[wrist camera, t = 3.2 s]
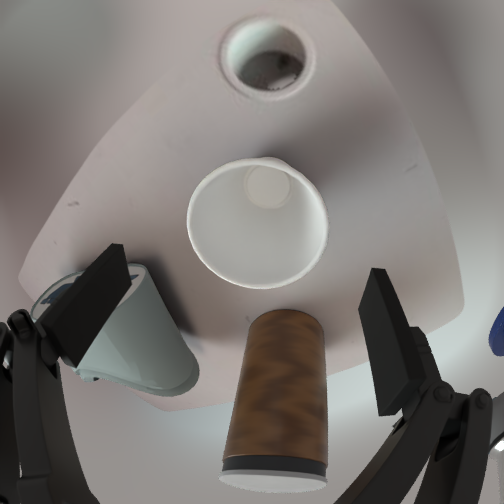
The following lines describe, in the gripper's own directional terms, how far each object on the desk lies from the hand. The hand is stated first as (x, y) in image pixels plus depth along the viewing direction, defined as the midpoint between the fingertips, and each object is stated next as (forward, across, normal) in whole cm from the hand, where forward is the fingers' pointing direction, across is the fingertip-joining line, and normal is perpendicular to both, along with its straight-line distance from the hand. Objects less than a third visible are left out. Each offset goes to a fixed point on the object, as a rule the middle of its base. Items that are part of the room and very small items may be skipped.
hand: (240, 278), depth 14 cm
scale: (-4, +4, -22) cm, 23 cm away
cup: (+17, 0, 0) cm, 17 cm away
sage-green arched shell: (+17, -21, -22) cm, 35 cm away
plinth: (+16, +4, -22) cm, 28 cm away
